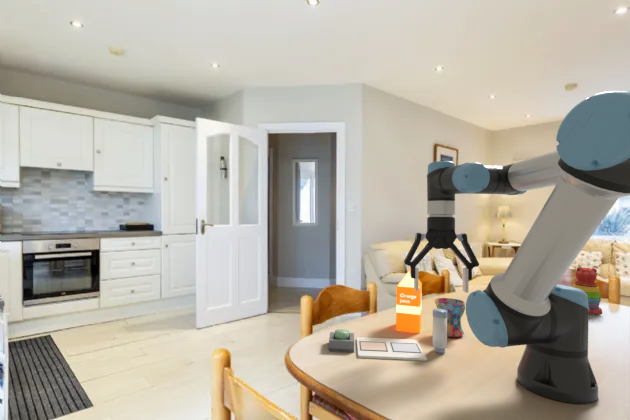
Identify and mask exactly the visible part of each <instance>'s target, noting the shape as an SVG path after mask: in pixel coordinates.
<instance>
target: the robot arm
mask: <svg viewBox="0 0 630 420" xmlns="http://www.w3.org/2000/svg"><path fill="white" fill-rule="evenodd" d="M555 138H556V140H555V141H556V142H558V144H557V145H556V150H555V151H551V152H548V153H544V154H541V155H538V156H535V157H534V156H533V157H531V158H527V159H524V160H520V161H516V162H514V163H510V164H506V165H488V164H487V165H485V164H482V163H481V162H475V161H474V162H465V163H461V164H458V165H456V164H455V162H454V161H451V160H438V161H431V162H430V163H429V164H428V166H427V174H426V187H427V188H426V193H427V195H426V196H427V197H426V198H427V204H426V205H427V206H426V207H427V209H426V210H427V211H426V214H427V215H428V217H427V218H426V226H427V227H426V233H421V232H416V233H415V236H414V237H415V238H414V242H413V243H412V245H411V246H410V249H409V250H408V253H407V254H406V256H405V259H404V260H403V264H405V266H408V267H410V268H409V269H410V276H411V278H414V289H415V291H418V279H419V272H420V271H419V267H418V266H417V265H418V264H419V263H420V262H422V260H423V259H424V258H425V256H427V254H428V253H429V252H430V251H431V250H432V249H436V250H437V249H438V250H440V249H443V250H448V249H450V250H451V252H452V253H453V254H454V255H455V256H456V257H457V258H458V259H459V261H460V262H461V263H462V264H463V265H464V266H465V267H462V292H464V293H469V281H472V279H473V269H474V268H478V267H479V266H480V262H479V261H478V259H477V257H476V255H475V253H474V251H473V249H472V248H471V245H470V243H469V239H468V235H467V233H463V232H461V233H458V234H457V233H456V218H455V217H454V216H455V215H456V195H459V194H460V195H462V194H463V195H464V194H469V195H471V194H476V195H506V196H516V195H517V196H518V195H523V194H525V193H527V191H531V190H535V189H536V190H537V189H542V188H548V187H552V186H553V189H552V191H551V192H550V194H549V197H548V199H547V200H546V202H545V204H544V205H543V207H542V209H541V210H540V212H539V214H538V215H537V217H536V219H535V221H534V222H533V224H532V226H531V227H530V229H529V231H528V232H527V234H526V236H525V237H524V240H523V241H522V243H521V245H520V246H519V247H518V249H517V251H516V252H515V254H514V256H513V258H512V260H511V261H510V263H509V264H508V266H507V268H506V270H505V271H504V272H498V273H497V274H494V275H493V276H492V278H491V280H490V281H489V283H488V284H487V286H486V287H485V289H483V290H480V289H478V290H475V291H473V292H471V293H469V294H468V296H467V297H466V300H465V301H466V302H465V315H466V319H467V324H468V326H469V328H470V330H471V332H472V334H473V336H475V338H476V339H477V340H478V341H479V342H480V343H481V344H482V345H485V346H488V347H490V348H506V347H507V348H508V347H514V346H515V347H516V346H525V348H524V351H523V353H522V356H521V359H520V361H519V363H518V366H517V370H516V377H517V378H516V379H517V381H518V382H519V384H520V385H521V386H523V387H524V388H525V389H527V390H528V391H531V393H534V394H536V395H539V396H542V397H545V398H547V399H550V400H555V401H558V402H563V403H568V404H590V403H594V402H595V401H597V400H598V398H599V385H598V382H597V380H596V377H595V374H594V371H593V369H592V365H591V362H590V360H589V315H590V314H589V307H588V296H587V294H586V293H585V292H584V291H583V290H581V289H578V288H574V287H573V286H570V285H569V286H568V285H564V284H559V282H560V281H561V280H562V278H563V277H564V275H565V274H566V273H567V271H568V270H569V268H570V267H571V266H572V264H573V263H574V262H575V260H576V258H577V257H578V255H579V254H580V253H581V252H582V250H583V249H584V247H585V246H586V244H587V243H588V241H589V240H590V238H591V237H593V234H594V233H595V232H596V231H597V229H598V228H599V226H600V225H601V223H602V222H603V221H604V219H605V218H606V217H607V215H608V213H609V212H610V210H611V209H612V208H613V206H614V205H615V204H616V202H617V200H619V199H620V198H622V197H623V198H624V197H629V196H630V90H621V91H619V90H611V91H610V90H609V91H603V92H599V93H596V94H594V95H591V96H590V97H587V98H584V99H583V100H581V101H580V102H579V103H577V104H576V105H575V106H573V108H572V109H571V110H570V111H569V112H568V113H567V114H566V116H565V117H564V118H563V119H562V121H561V123H560V125H559V128H558V129H557V134H556V137H555ZM424 239H426V240H427V243H426V244H425V246H424V247H423V249H422V250H421V251H420V252H419V253H418V254H417V255H416V257H414V256H415V254H416V252H417V250H418V248H419V246H420V245H421V242H422V241H424ZM457 239H458V241H459V242H460V243H461V245H462V247H463V249H464V251H465V253H466V255H467V257H468V258H466V256H465V255H464V254H463V253H462V252H461V251H460V249H459V248H458V247H457V246H456V244H455V241H456V240H457ZM413 258H414V259H413ZM412 259H413V260H412ZM468 259H469V260H468Z"/></svg>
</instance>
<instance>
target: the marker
mask: <svg viewBox="0 0 630 420" xmlns="http://www.w3.org/2000/svg"><path fill="white" fill-rule="evenodd" d="M432 347H433V348H434V349H433V351H434V352H435V353H437V354H445V353H446V348H448V337H447V310H444V309H437V308H433V309H432Z"/></svg>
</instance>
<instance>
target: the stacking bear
mask: <svg viewBox="0 0 630 420" xmlns="http://www.w3.org/2000/svg"><path fill="white" fill-rule="evenodd" d="M575 277H576V279H577V280H575V281H574V284H573V286H572V287H574V288H578V289H581V290H583V291H584V292H585V293H586V294H587V296H588V307H589V315H591V314H597V315H601V314H602V313H603V309H602V308H601V307H600V303H601V301H602V300H601V299H602V298H601V297H602V294H601V291H600V287H599V286H598V284H597V283H596V280H597V269H596V268H593V267H592V268H591V267H581V266H578V267H576V271H575Z"/></svg>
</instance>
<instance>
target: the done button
mask: <svg viewBox="0 0 630 420" xmlns="http://www.w3.org/2000/svg"><path fill="white" fill-rule="evenodd" d="M334 332H335V339H343V340H348V339H349V333H350V331H349V330H348V329H345V328H344V329H343V328H339V329H335V330H334Z"/></svg>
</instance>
